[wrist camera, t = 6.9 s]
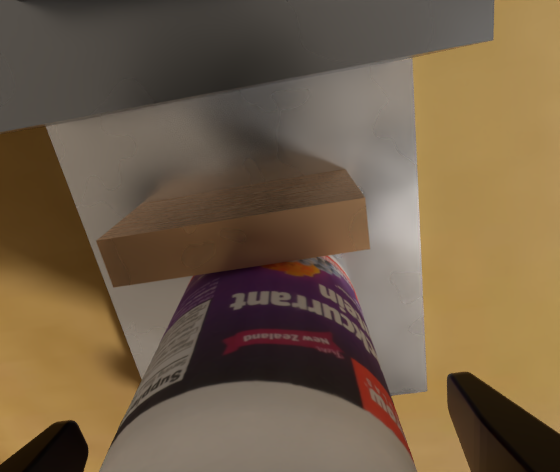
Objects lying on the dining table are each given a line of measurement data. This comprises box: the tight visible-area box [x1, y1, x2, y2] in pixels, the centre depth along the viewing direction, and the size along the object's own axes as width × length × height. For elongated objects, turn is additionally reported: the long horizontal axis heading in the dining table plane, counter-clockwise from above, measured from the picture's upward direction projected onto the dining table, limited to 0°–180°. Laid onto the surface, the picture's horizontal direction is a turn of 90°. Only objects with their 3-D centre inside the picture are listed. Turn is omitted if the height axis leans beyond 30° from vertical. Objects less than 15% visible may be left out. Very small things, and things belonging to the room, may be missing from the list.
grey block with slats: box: [0, 0, 494, 396], centre depth 9 cm, size 16×10×7 cm, turn 10°
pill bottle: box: [99, 255, 417, 472], centre depth 8 cm, size 5×5×10 cm
